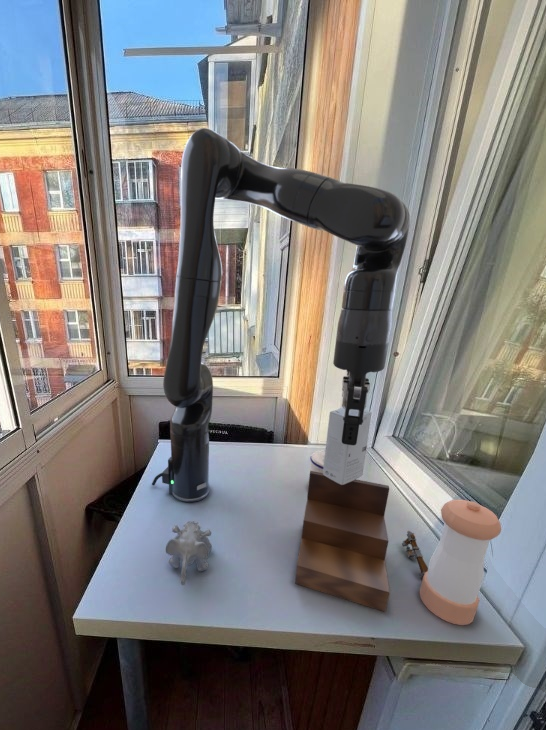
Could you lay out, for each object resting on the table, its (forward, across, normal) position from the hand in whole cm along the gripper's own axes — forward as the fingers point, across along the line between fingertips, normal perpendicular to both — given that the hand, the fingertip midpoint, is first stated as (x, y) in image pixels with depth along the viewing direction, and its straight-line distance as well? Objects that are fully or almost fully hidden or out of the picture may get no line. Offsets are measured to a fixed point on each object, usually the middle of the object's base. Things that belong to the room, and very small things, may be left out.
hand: (348, 434), depth 57 cm
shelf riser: (+25, +3, +1) cm, 25 cm away
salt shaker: (+25, +4, +18) cm, 31 cm away
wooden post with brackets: (+25, -3, +14) cm, 29 cm away
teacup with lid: (+25, -22, -1) cm, 34 cm away
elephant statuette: (+25, +14, -24) cm, 37 cm away
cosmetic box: (+8, 0, 0) cm, 8 cm away
